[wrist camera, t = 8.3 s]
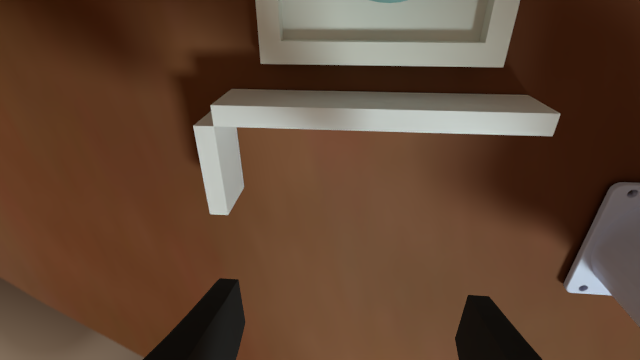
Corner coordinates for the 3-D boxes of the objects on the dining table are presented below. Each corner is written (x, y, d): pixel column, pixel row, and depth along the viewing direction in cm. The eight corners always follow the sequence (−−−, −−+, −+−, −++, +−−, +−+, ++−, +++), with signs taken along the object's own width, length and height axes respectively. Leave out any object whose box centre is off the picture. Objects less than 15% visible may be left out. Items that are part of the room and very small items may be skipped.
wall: (528, 95, 17) (560, 113, 14) (497, 198, 19) (519, 230, 17) (213, 88, 18) (188, 104, 15) (228, 186, 21) (210, 214, 18)
